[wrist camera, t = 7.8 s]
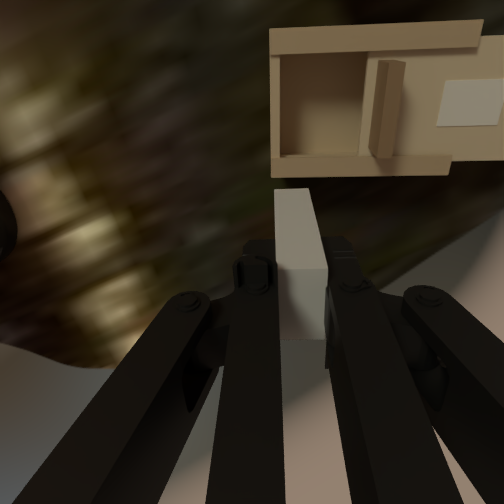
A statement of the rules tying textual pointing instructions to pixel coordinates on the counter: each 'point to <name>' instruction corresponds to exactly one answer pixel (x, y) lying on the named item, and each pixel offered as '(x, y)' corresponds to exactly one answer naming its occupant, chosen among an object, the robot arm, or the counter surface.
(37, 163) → the counter surface
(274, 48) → the box
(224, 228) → the counter surface
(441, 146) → the lid
